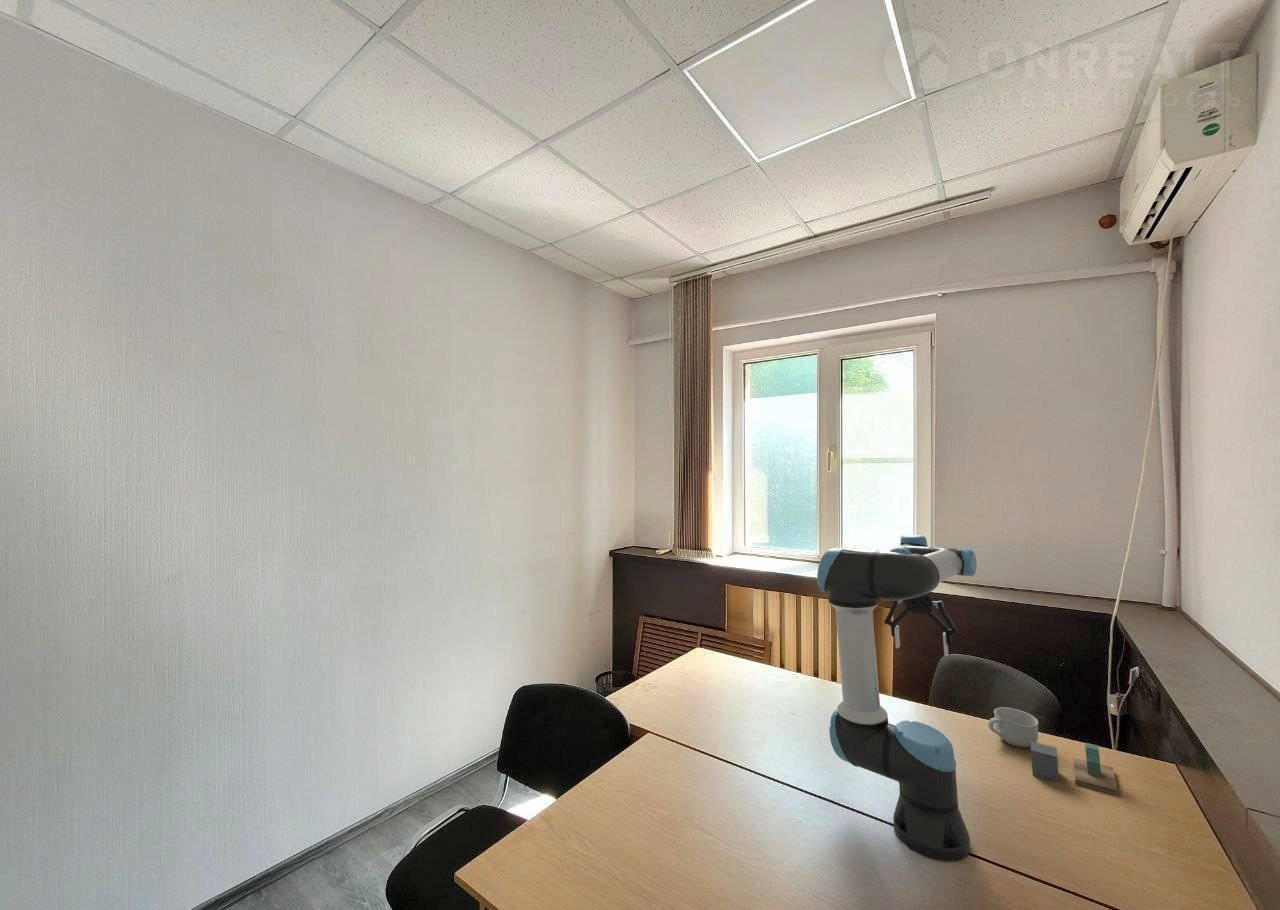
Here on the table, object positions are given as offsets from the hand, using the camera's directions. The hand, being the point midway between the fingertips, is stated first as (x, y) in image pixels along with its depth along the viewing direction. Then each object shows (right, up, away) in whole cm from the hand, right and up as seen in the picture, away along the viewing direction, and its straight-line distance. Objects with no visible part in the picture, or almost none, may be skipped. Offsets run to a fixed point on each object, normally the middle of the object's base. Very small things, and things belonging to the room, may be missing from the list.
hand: (921, 650), depth 156 cm
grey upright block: (+20, -24, -23) cm, 39 cm away
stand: (+31, -23, -26) cm, 47 cm away
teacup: (+23, -25, -8) cm, 35 cm away
